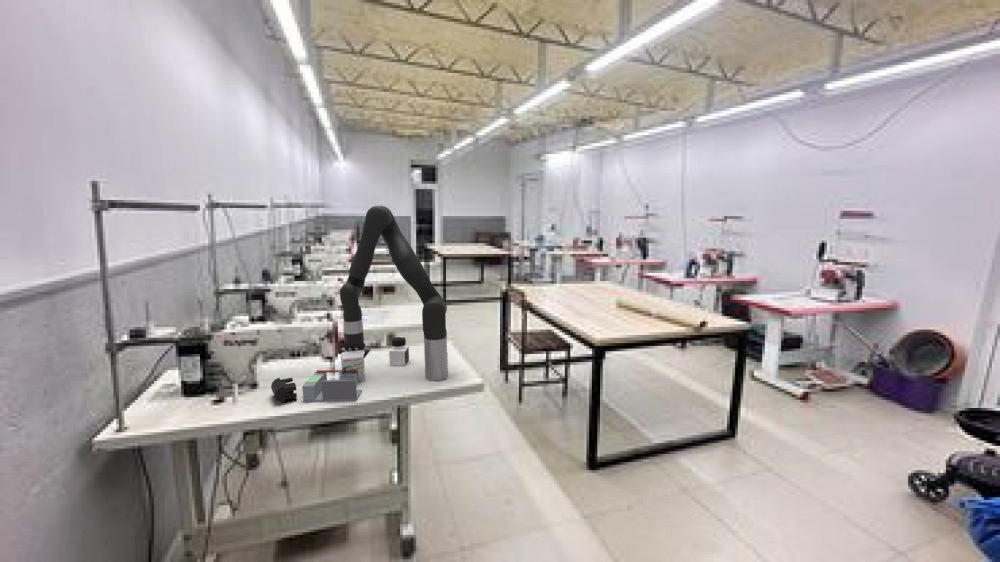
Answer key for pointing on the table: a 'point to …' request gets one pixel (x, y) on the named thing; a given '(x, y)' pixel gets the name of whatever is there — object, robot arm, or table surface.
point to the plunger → (344, 374)
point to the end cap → (284, 390)
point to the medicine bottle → (399, 352)
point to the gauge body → (329, 389)
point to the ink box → (354, 363)
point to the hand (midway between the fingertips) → (356, 370)
